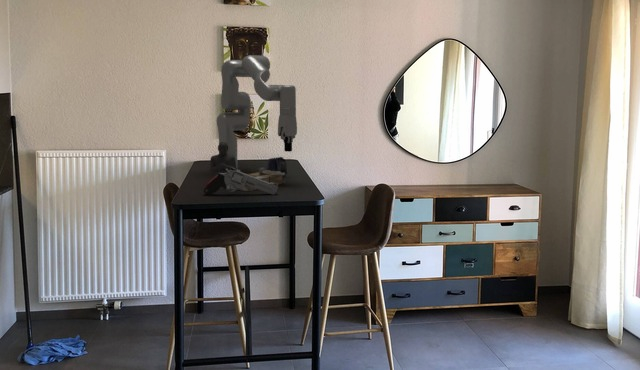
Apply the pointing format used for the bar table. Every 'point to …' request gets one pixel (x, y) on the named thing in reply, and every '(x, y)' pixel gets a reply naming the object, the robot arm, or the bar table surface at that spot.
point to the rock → (275, 164)
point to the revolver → (238, 182)
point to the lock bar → (283, 171)
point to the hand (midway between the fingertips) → (288, 151)
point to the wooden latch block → (265, 177)
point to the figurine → (222, 160)
